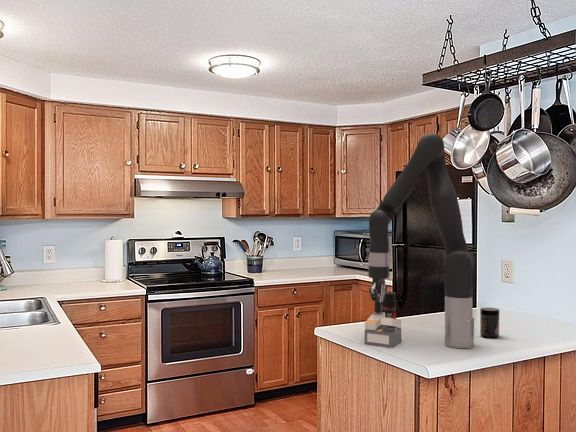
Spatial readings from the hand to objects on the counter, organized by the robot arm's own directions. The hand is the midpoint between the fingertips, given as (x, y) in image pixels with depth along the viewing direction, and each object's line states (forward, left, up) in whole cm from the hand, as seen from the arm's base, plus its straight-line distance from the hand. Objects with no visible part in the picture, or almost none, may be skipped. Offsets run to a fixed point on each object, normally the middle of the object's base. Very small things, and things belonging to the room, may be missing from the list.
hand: (378, 312), depth 196 cm
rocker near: (-6, +4, -4) cm, 8 cm away
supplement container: (-34, -26, -10) cm, 44 cm away
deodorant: (+2, -16, -10) cm, 19 cm away
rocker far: (0, +3, -4) cm, 5 cm away
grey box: (-3, +3, -10) cm, 11 cm away
